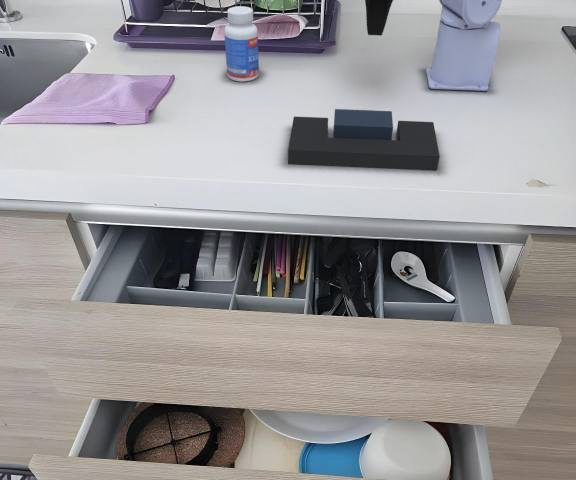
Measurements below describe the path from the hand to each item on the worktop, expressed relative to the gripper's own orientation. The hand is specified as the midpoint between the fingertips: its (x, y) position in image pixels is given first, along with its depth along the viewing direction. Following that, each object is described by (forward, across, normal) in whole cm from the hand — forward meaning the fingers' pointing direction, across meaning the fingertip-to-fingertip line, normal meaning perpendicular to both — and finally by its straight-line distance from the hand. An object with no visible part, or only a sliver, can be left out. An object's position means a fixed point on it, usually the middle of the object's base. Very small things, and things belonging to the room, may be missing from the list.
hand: (374, 25), depth 87 cm
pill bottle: (+10, -4, -21) cm, 23 cm away
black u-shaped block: (+9, +20, -1) cm, 22 cm away
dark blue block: (+9, +18, -1) cm, 20 cm away
